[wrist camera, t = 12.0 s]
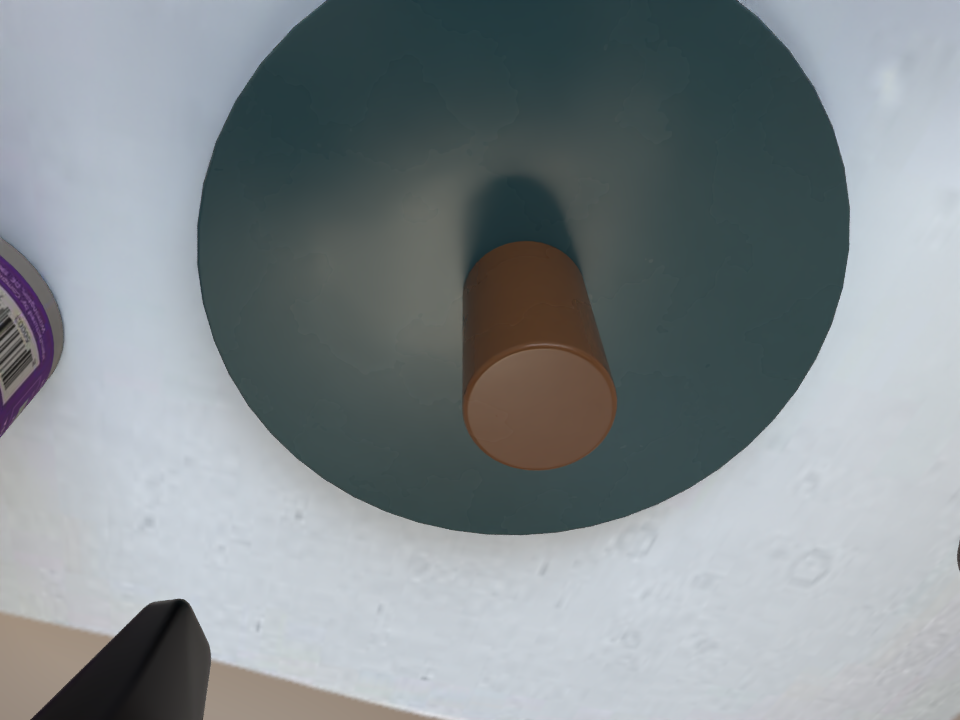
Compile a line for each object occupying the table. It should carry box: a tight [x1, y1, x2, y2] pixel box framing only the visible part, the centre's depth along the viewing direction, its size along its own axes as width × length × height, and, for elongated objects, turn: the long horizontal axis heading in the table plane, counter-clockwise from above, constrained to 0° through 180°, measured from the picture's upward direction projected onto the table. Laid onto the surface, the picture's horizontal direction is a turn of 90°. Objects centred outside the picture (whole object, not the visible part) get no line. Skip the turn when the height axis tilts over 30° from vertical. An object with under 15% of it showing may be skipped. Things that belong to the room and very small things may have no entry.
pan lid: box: [197, 0, 850, 535], centre depth 15 cm, size 13×13×5 cm
